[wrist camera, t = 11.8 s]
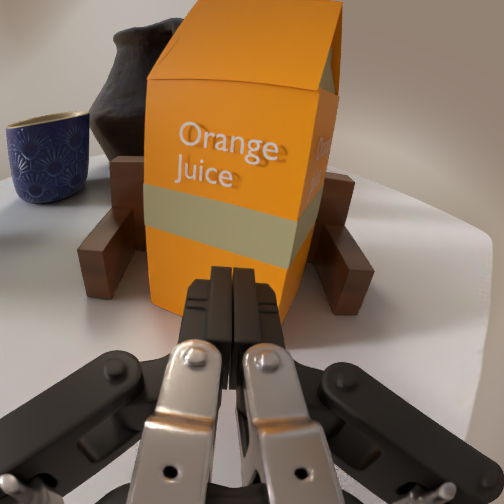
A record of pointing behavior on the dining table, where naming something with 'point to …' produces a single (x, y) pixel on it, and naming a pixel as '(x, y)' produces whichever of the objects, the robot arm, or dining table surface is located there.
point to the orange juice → (239, 143)
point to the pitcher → (129, 89)
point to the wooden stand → (134, 238)
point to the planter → (49, 155)
